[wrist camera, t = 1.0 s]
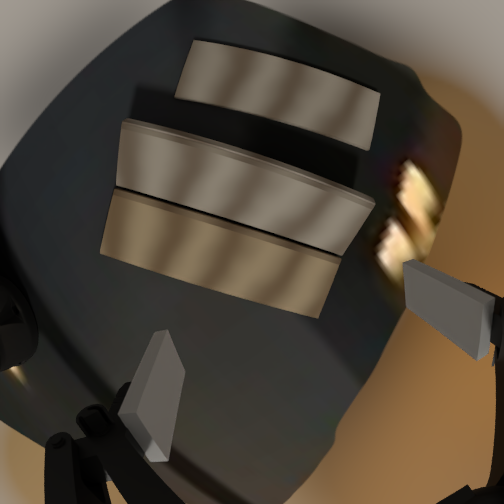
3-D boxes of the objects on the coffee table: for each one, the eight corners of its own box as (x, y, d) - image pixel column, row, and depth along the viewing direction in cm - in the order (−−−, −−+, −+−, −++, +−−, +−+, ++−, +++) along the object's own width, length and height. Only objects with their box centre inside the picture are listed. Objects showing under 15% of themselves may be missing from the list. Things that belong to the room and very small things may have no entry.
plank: (176, 99, 32) (174, 96, 31) (194, 43, 31) (193, 40, 30) (365, 150, 35) (369, 149, 34) (376, 95, 34) (380, 93, 32)
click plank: (120, 180, 33) (115, 185, 32) (127, 118, 28) (121, 121, 27) (340, 249, 37) (342, 256, 36) (373, 198, 32) (375, 204, 31)
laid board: (103, 251, 35) (99, 253, 34) (118, 188, 33) (114, 188, 32) (315, 314, 38) (317, 318, 37) (338, 256, 37) (341, 259, 36)
